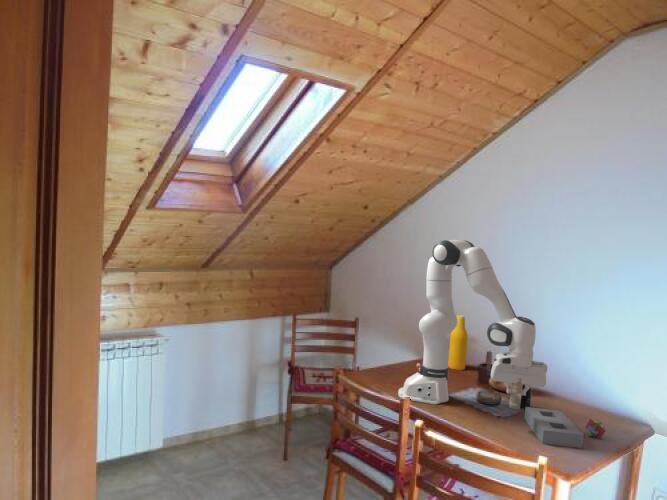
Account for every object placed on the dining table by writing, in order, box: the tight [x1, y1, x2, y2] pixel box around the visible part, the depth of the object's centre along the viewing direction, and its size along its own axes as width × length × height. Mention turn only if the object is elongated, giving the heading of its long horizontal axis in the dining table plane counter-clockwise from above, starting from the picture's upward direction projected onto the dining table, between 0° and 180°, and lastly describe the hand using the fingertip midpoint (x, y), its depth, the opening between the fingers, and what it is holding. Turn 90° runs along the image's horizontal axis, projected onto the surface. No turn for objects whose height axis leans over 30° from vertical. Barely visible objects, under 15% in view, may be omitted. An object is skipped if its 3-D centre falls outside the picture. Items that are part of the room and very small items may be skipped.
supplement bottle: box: [519, 384, 533, 410], centre depth 222 cm, size 7×7×12 cm
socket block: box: [524, 406, 585, 449], centre depth 195 cm, size 14×24×5 cm, turn 174°
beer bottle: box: [448, 314, 468, 371], centre depth 278 cm, size 9×9×29 cm
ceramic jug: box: [488, 358, 512, 393], centre depth 245 cm, size 18×14×14 cm
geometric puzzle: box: [585, 418, 606, 441], centre depth 193 cm, size 7×7×8 cm
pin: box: [508, 378, 523, 410], centre depth 196 cm, size 4×4×12 cm
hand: (515, 394), depth 196 cm, fingers closed on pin, 4 cm apart
